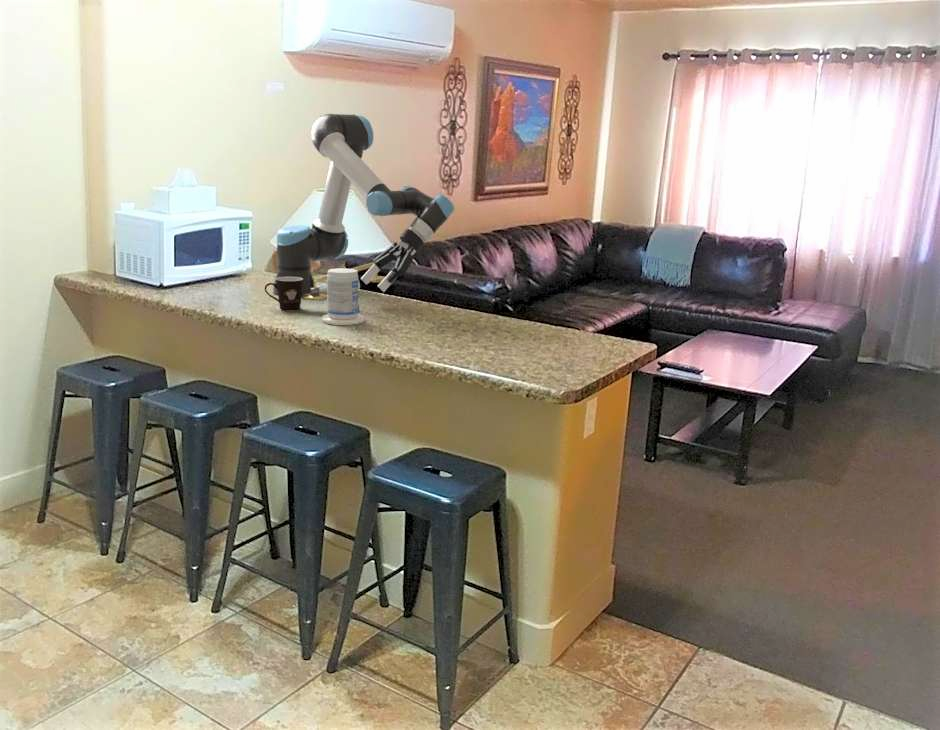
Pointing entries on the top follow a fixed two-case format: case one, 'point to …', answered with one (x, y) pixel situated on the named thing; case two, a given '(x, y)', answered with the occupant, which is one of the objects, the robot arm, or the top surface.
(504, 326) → the top surface
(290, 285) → the coffee mug
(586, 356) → the top surface
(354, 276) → the supplement tub
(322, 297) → the balance
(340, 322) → the plate
